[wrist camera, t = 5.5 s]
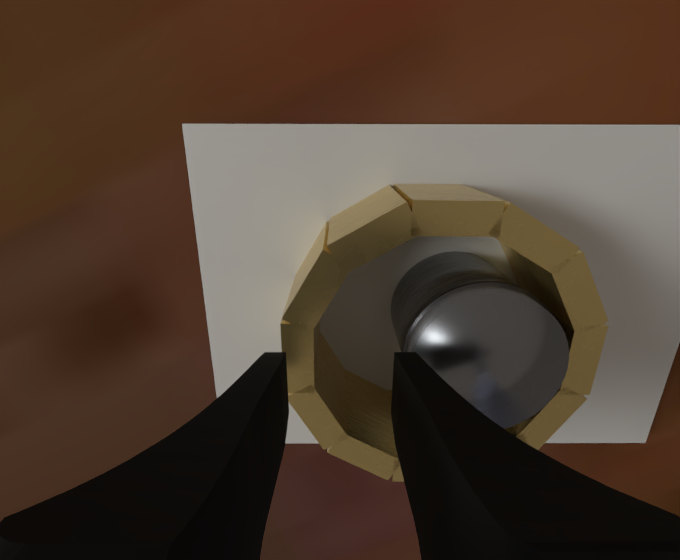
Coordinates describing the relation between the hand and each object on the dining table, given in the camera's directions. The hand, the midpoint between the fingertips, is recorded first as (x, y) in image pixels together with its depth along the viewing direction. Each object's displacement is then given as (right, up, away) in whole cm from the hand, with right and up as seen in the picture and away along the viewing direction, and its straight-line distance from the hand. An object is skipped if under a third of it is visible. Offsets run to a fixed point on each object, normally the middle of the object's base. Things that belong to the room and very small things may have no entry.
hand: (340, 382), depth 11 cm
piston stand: (+5, +2, +6) cm, 8 cm away
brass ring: (+3, +2, +5) cm, 6 cm away
